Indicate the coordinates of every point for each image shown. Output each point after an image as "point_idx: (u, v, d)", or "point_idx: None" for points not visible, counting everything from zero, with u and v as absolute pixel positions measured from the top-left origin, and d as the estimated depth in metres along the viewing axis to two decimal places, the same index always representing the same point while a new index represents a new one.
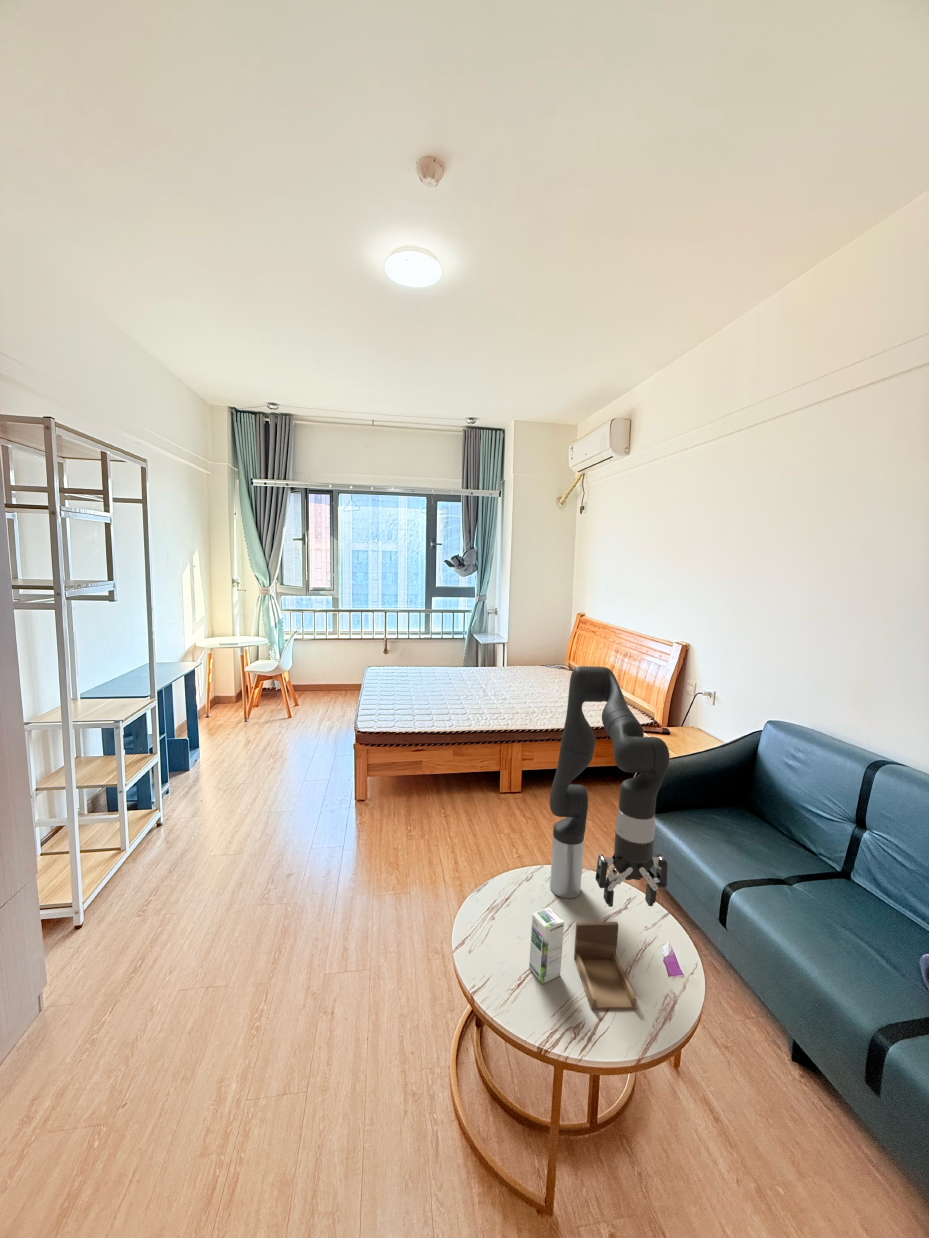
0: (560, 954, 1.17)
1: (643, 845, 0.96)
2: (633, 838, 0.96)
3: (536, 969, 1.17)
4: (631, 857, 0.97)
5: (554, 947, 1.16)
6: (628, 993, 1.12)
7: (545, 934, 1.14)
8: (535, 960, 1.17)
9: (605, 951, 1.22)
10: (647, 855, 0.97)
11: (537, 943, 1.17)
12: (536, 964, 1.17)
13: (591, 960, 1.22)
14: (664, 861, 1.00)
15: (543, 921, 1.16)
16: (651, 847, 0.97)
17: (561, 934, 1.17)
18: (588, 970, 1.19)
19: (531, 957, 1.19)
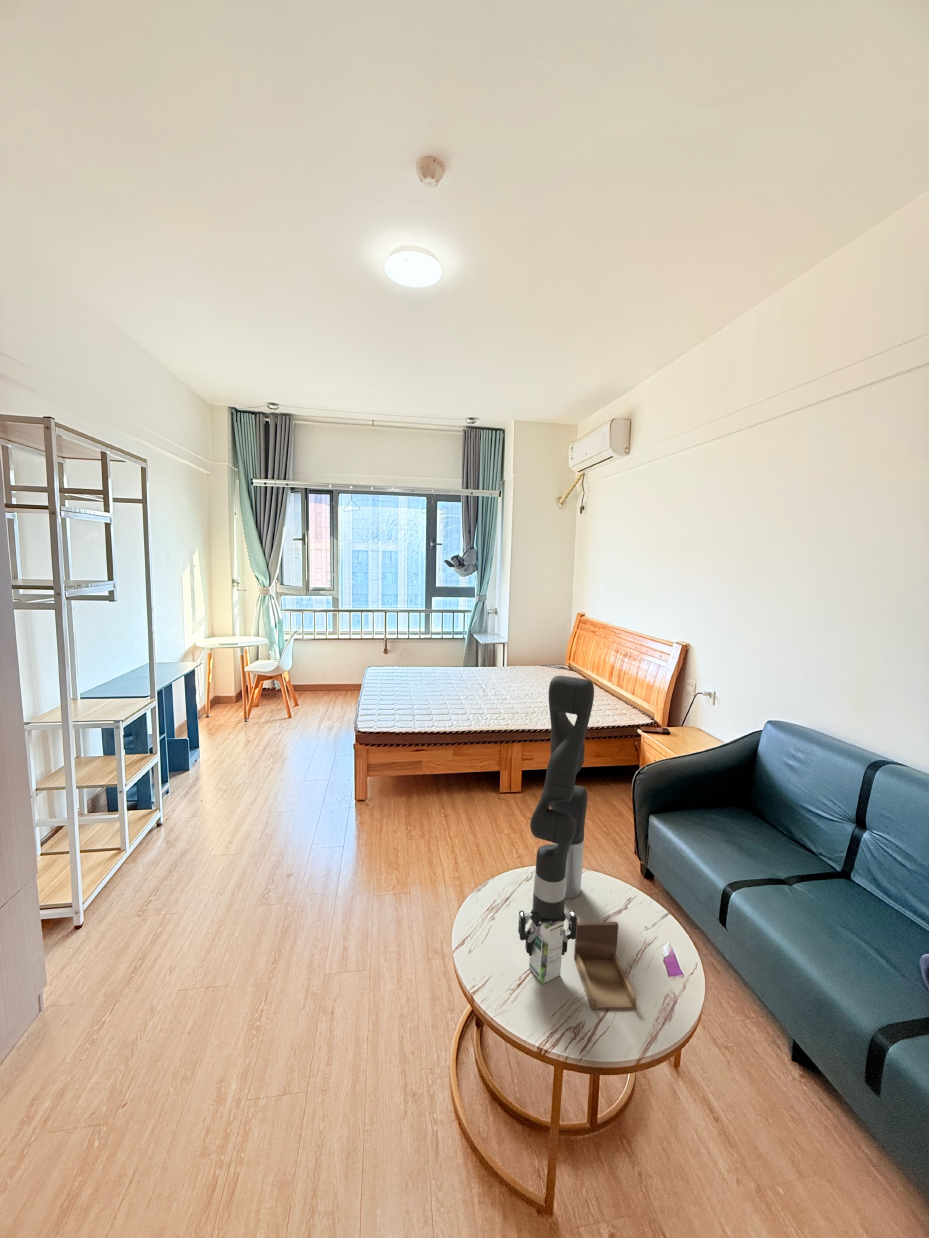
0: (560, 954, 1.17)
1: (553, 904, 1.13)
2: (545, 898, 1.13)
3: (536, 969, 1.17)
4: (544, 914, 1.14)
5: (554, 947, 1.16)
6: (628, 993, 1.12)
7: (545, 934, 1.14)
8: (535, 960, 1.17)
9: (605, 951, 1.22)
10: (558, 912, 1.14)
11: (537, 943, 1.17)
12: (536, 964, 1.17)
13: (591, 960, 1.22)
14: (574, 917, 1.17)
15: None
16: (561, 905, 1.14)
17: None
18: (588, 970, 1.19)
19: (531, 957, 1.19)
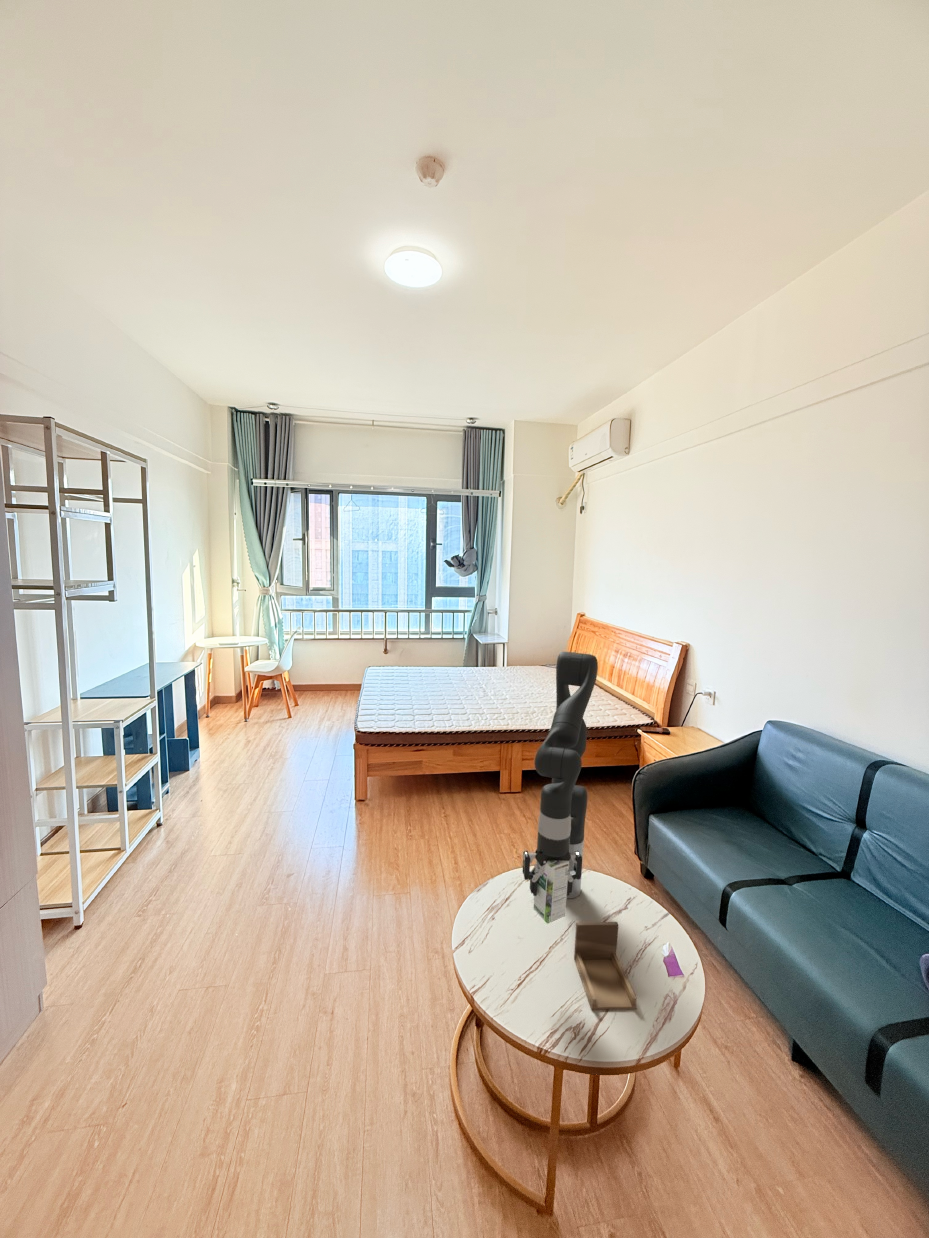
0: (565, 894, 1.15)
1: (558, 841, 1.11)
2: (550, 835, 1.11)
3: (541, 910, 1.15)
4: (549, 852, 1.12)
5: (559, 886, 1.14)
6: (628, 993, 1.12)
7: (550, 873, 1.12)
8: (540, 900, 1.16)
9: (605, 951, 1.22)
10: (562, 850, 1.12)
11: (542, 883, 1.15)
12: (541, 904, 1.15)
13: (591, 960, 1.22)
14: (580, 856, 1.15)
15: None
16: (566, 843, 1.12)
17: None
18: (588, 970, 1.19)
19: (535, 898, 1.17)
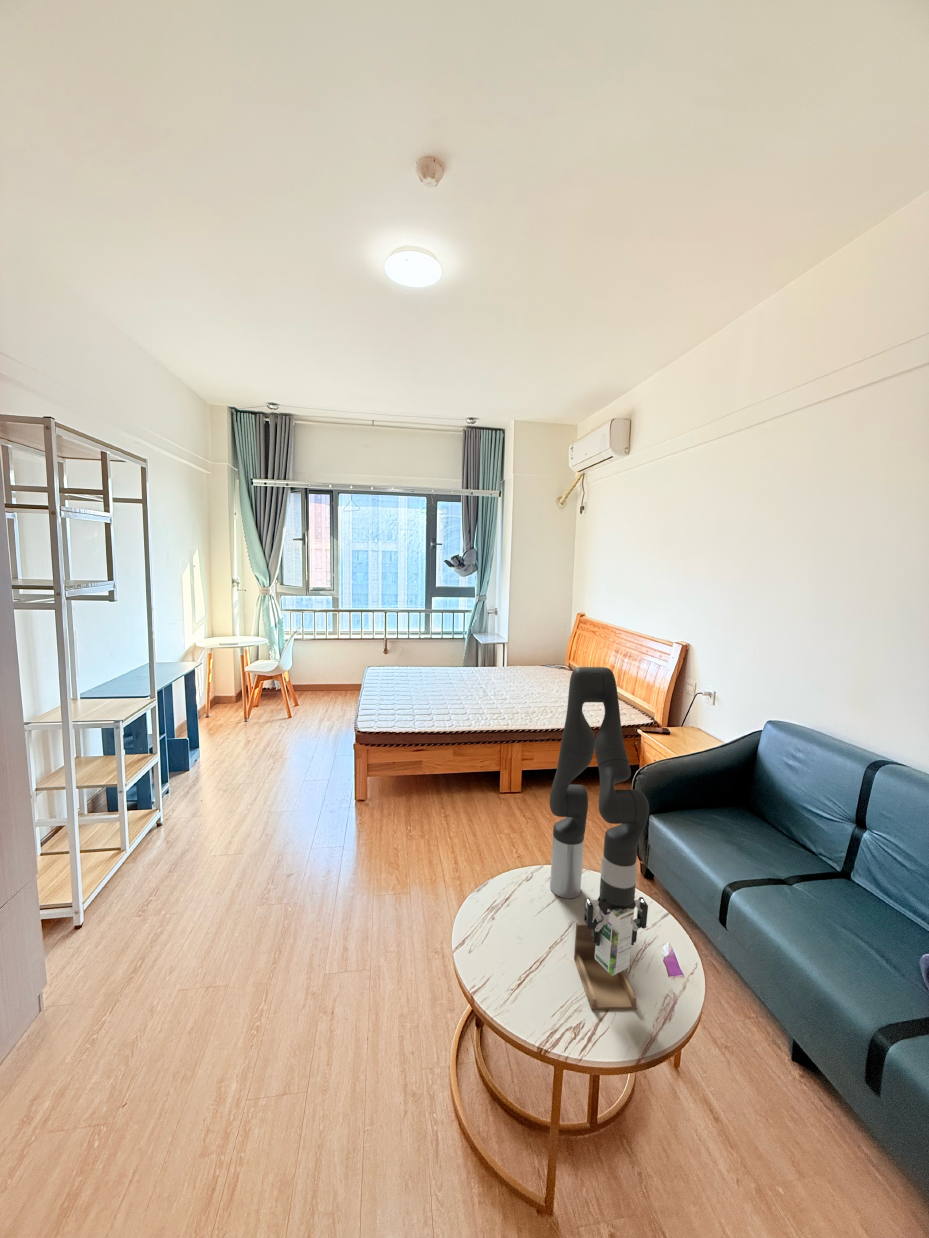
0: (629, 944, 1.10)
1: (625, 889, 1.06)
2: (616, 883, 1.06)
3: (604, 961, 1.10)
4: (614, 900, 1.06)
5: (624, 936, 1.08)
6: (628, 993, 1.12)
7: (615, 923, 1.07)
8: (603, 951, 1.10)
9: None
10: (629, 898, 1.06)
11: (606, 932, 1.09)
12: (604, 955, 1.10)
13: (591, 960, 1.22)
14: (645, 904, 1.09)
15: None
16: (633, 891, 1.07)
17: None
18: (588, 970, 1.19)
19: (597, 948, 1.11)
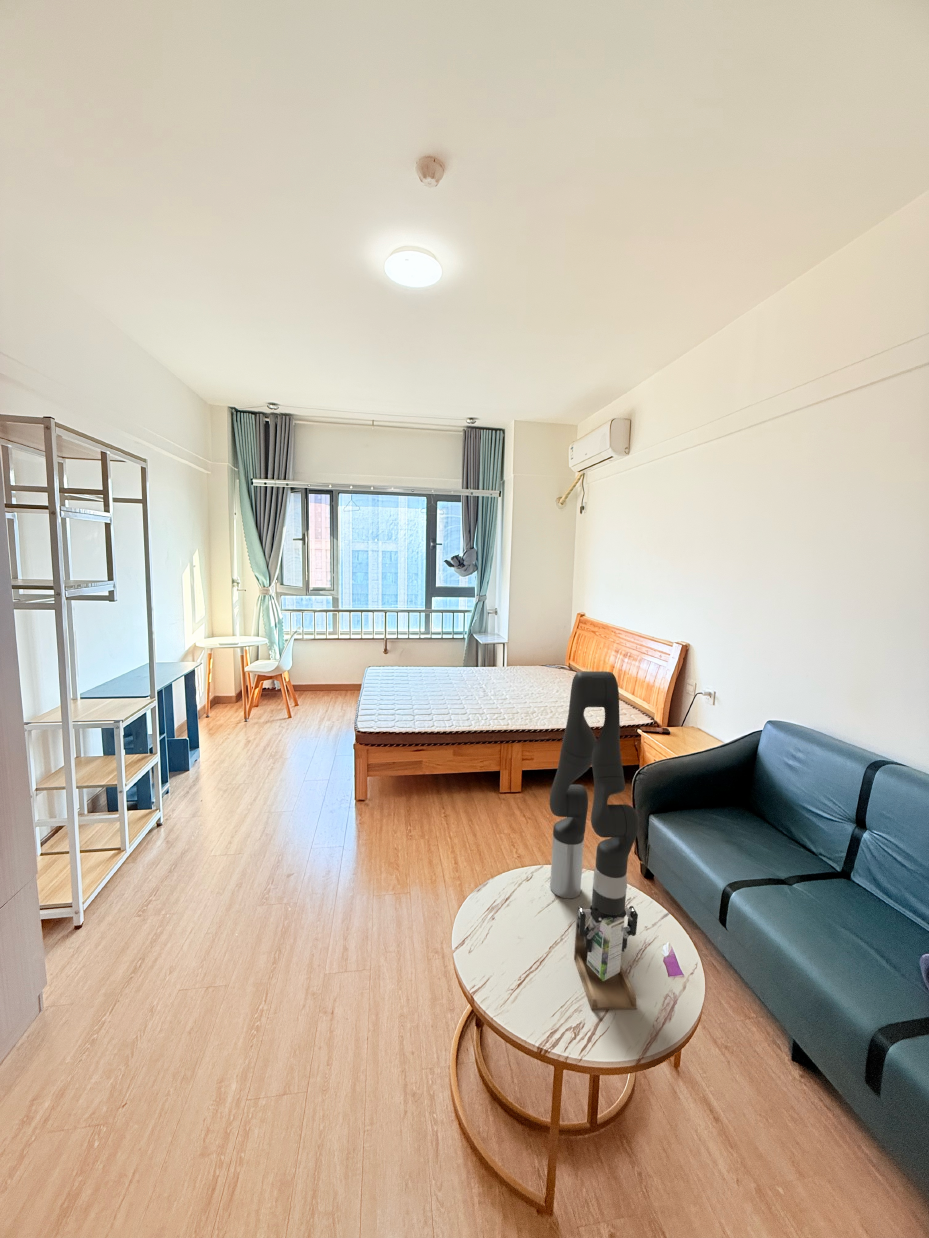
0: (620, 950, 1.15)
1: (616, 900, 1.11)
2: (607, 894, 1.11)
3: (596, 966, 1.15)
4: (605, 910, 1.11)
5: (615, 944, 1.14)
6: (628, 993, 1.12)
7: (606, 931, 1.12)
8: (595, 957, 1.15)
9: None
10: (619, 908, 1.11)
11: (597, 940, 1.14)
12: (596, 961, 1.15)
13: None
14: (635, 913, 1.14)
15: None
16: (623, 901, 1.12)
17: None
18: (588, 970, 1.19)
19: (590, 954, 1.17)
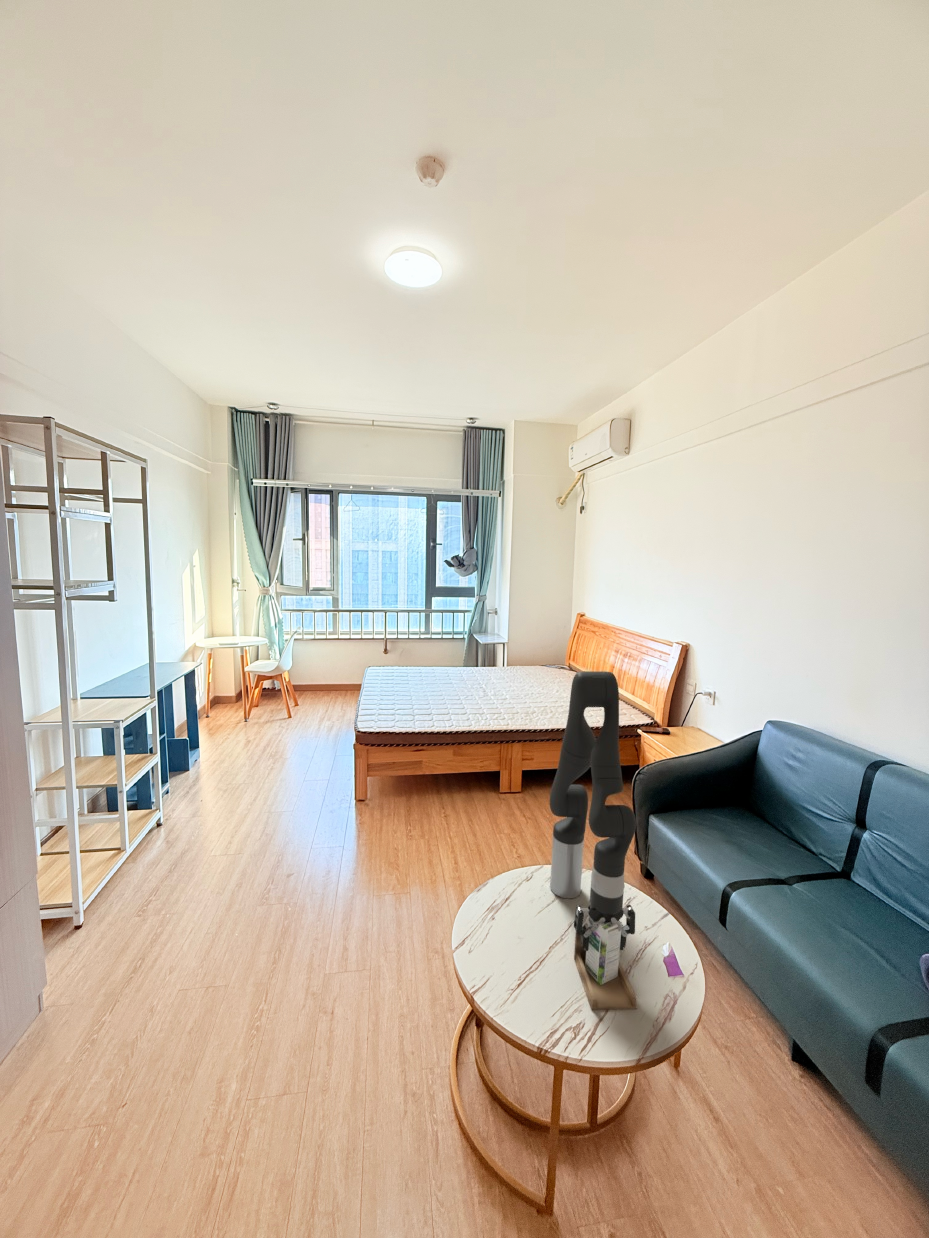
0: (617, 955, 1.17)
1: (613, 899, 1.12)
2: (605, 893, 1.12)
3: (593, 970, 1.17)
4: (603, 909, 1.13)
5: (612, 948, 1.15)
6: (628, 993, 1.12)
7: (603, 935, 1.14)
8: (592, 961, 1.17)
9: None
10: (617, 907, 1.13)
11: (595, 944, 1.16)
12: (593, 965, 1.17)
13: None
14: (632, 912, 1.16)
15: None
16: (620, 901, 1.13)
17: (619, 935, 1.16)
18: None
19: (588, 958, 1.19)
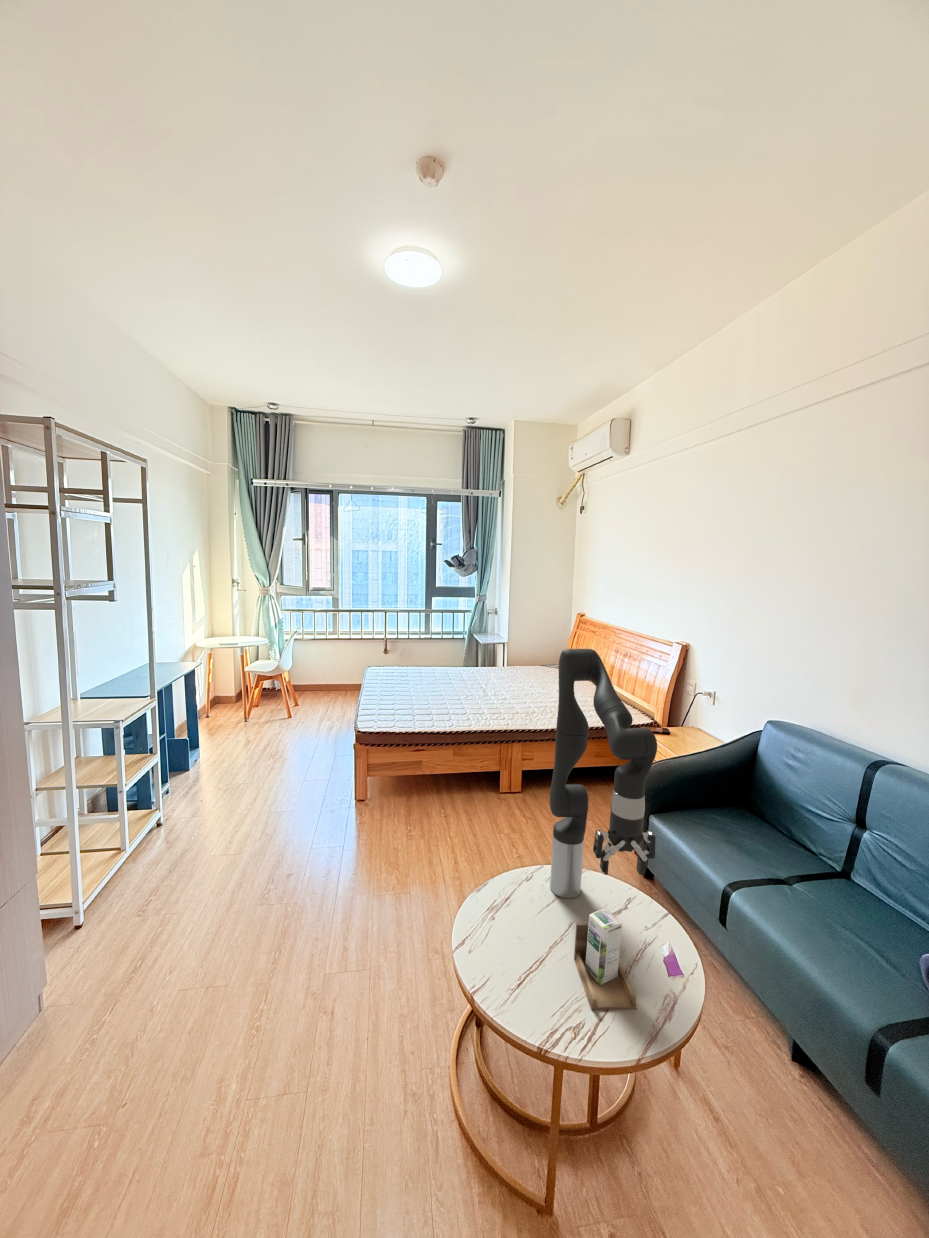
0: (617, 955, 1.17)
1: (634, 821, 1.12)
2: (625, 815, 1.12)
3: (593, 970, 1.17)
4: (623, 831, 1.13)
5: (612, 948, 1.15)
6: (628, 993, 1.12)
7: (603, 935, 1.14)
8: (592, 961, 1.17)
9: None
10: (637, 829, 1.13)
11: (595, 944, 1.16)
12: (593, 965, 1.17)
13: None
14: (653, 836, 1.15)
15: (601, 922, 1.16)
16: (641, 823, 1.13)
17: (619, 935, 1.16)
18: None
19: (588, 958, 1.19)
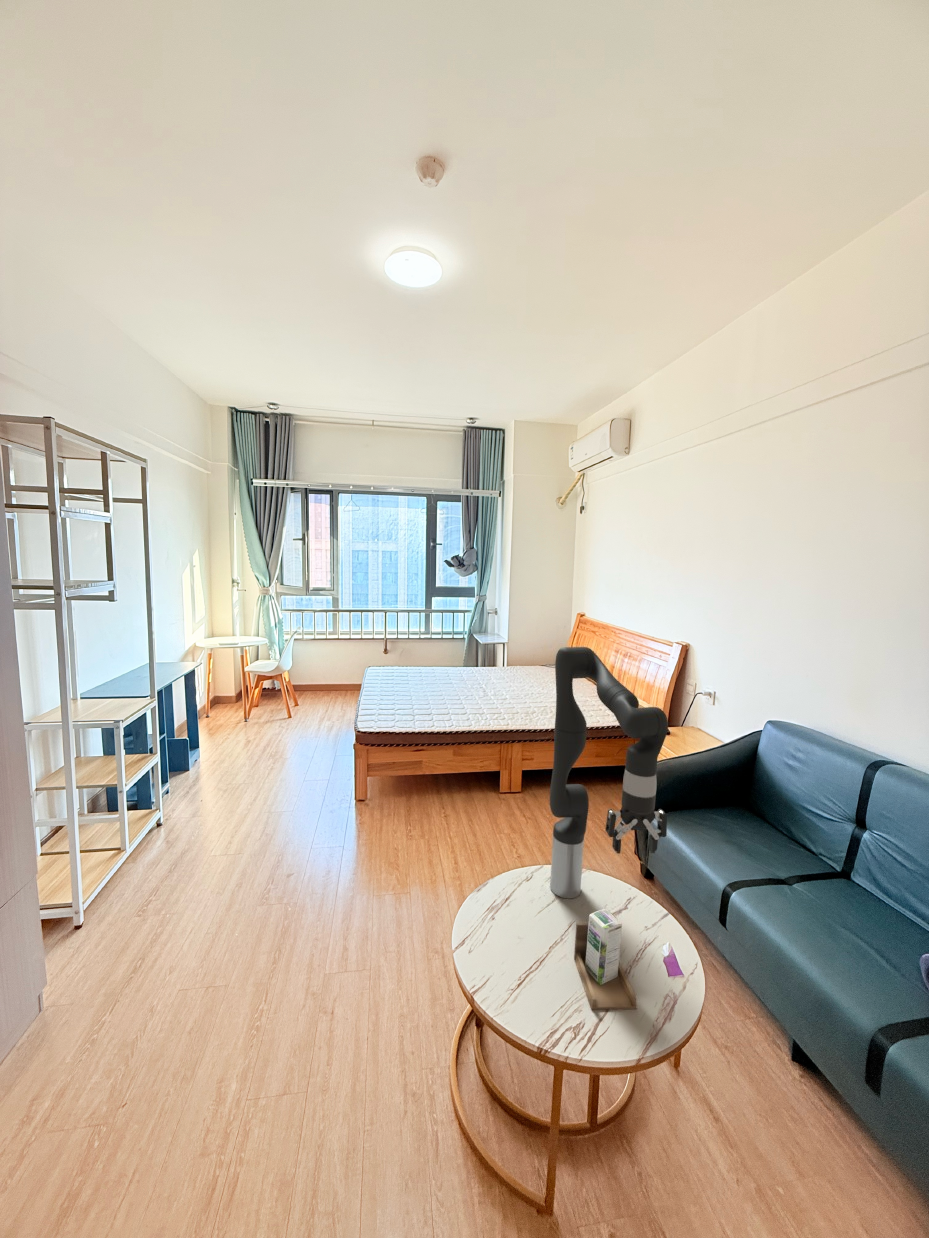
0: (617, 955, 1.17)
1: (646, 799, 1.13)
2: (638, 793, 1.13)
3: (593, 970, 1.17)
4: (636, 809, 1.14)
5: (612, 948, 1.15)
6: (628, 993, 1.12)
7: (603, 935, 1.14)
8: (592, 961, 1.17)
9: None
10: (650, 807, 1.14)
11: (595, 944, 1.16)
12: (593, 965, 1.17)
13: None
14: (664, 814, 1.17)
15: (601, 922, 1.16)
16: (653, 801, 1.14)
17: (619, 935, 1.16)
18: None
19: (588, 958, 1.19)
